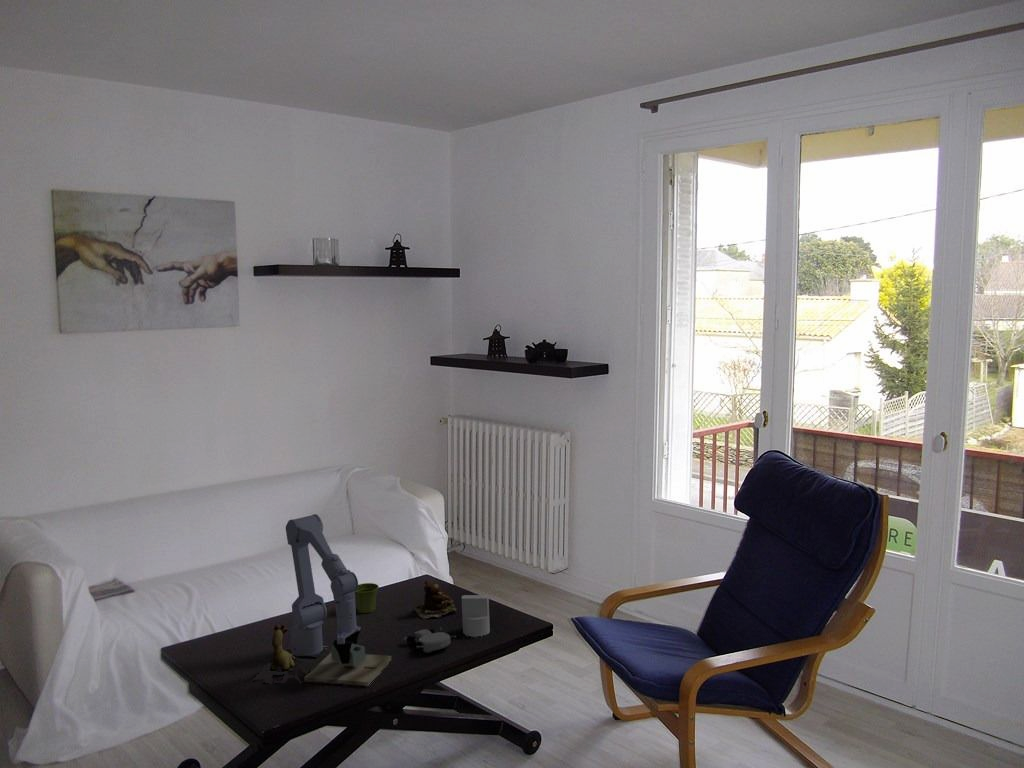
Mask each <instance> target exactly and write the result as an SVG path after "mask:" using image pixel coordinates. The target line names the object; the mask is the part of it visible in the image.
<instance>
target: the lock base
mask: <svg viewBox="0 0 1024 768" xmlns="http://www.w3.org/2000/svg"><path fill="white" fill-rule="evenodd" d="M390 661H391V662H392V655H384V654H383V655H381V654H369V653H368V654H367V653H365V660H364V661H362V662H360V663H358V664H356V665H354V666H352V665H349V664H342V663H341V662H338V661H335V660H332V654H331V652H329V654H327V655H326V657H324V658H323V659H322V660H321V661H320V662H319V663H317V664H318V665H317V664H316V665H317V666H316V667H315V668H314V669H313V670H312V669H311V672H310V673H308V674H307V675H304V681H305V680H313V681H324V682H334V683H345V684H353V685H364V686H369V684H370V683H371V682H372V681H373V680H374V679H375V678H376V677H377V676H378V677H379V675H380V674H382V672H383V671H384V670H385V669H386V667H387V666H388V665H389V664H390V663H391V662H390ZM389 662H390V663H389ZM384 668H385V669H384ZM383 669H384V670H383ZM382 670H383V671H382ZM381 671H382V672H381ZM378 677H377V678H378ZM377 678H376V679H377ZM376 679H375V680H376ZM375 680H374V681H375ZM374 681H373V682H374ZM373 682H372V683H373ZM372 683H371V684H372ZM371 684H370V685H371ZM369 687H370V686H369Z"/></svg>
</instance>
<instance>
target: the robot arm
mask: <svg viewBox="0 0 1024 768" xmlns="http://www.w3.org/2000/svg"><path fill="white" fill-rule="evenodd" d="M285 533H286V540H287V545H289V546H290V547H291V553H292V558H293V566H294V572H295V579H296V587H297V592H298V593H297V594H298V596H297V598H296V599H295V600H294V601H293V603H291V620H292V624H293V626H292V628H291V630H290V637H289V638H290V652H292V653H300V654H304V655H313V654H317V653H319V652H321V651H322V650H323V647H328V648H329V646H327V645H323V644H324V643H323V628H322V627H323V625H324V621H325V620H326V619H327V614H328V611H327V607H326V604H325V602H324V597H323V596H321V595H319V594H316V589H315V582H314V577H313V570H312V569H313V568H312V564H311V563H312V562H311V557H310V551H309V544H310V545H311V546H312V548H313V549H314V551H315V552H316V553H317V554H318V556H319V557H320V559H321V560H322V561H321V567H322V569H323V570H324V571H323V572H324V573H325V574H326V576H327V578H328V579H329V581H330V586H329V587H330V590H331V592H332V596H333V597H332V598H333V601H335V615H336V627H337V628H336V634H337V635H336V636H337V638H336V639H334V640H333V642H332V643H333V645H332V646H334V647H335V648H336V650H337V652H338V654H339V657H340V660H341V663H342V664H348V663H349V660H350V650H351V646H352V643H353V644H356V645H358V639H359V636H360V632H361V630H362V628H361V626H358V625H357V624H358V623H357V615H356V614H357V613H356V608H357V607H356V597H355V592H354V591H356V590H357V588H358V585H359V580H358V577H357V576H356V573H354V571H351V570H350V569H347V568H346V566H345V564H344V563H343V560H342V559H341V557H340V556H339V554H338V553H333V552H332V549H331V547H330V545H329V543H328V541H327V539H326V537H325V535H324V523H323V521H322V519H321V517H320V515H318V514H316V513H314V514H311V515H307V516H303V517H299V518H294V519H289V520H288V521H287V523H286V525H285ZM295 649H296V650H295ZM325 649H326V648H325ZM326 650H327V649H326ZM319 654H320V653H319Z"/></svg>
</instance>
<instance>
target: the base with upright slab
mask: <svg viewBox="0 0 1024 768" xmlns="http://www.w3.org/2000/svg"><path fill="white" fill-rule="evenodd" d="M489 597H490V596H489V595H488V594H487V595H486V594H485V595H483V594H482V595H481V594H479V595H477V594H473V595H471V594H466V595H465V594H464V595H462V596H461V614H462V619H461V620H462V633H464V634H465V636H467V637H469V636H471V637H470V638H479V637H478V636H481V637H483V635H485V636H487V635H488V634H489V633H491V630H490V628H491V626H490V602H489V601H490V600H489V599H490V598H489ZM464 634H463V635H464ZM486 634H487V635H486Z"/></svg>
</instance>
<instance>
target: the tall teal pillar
mask: <svg viewBox="0 0 1024 768" xmlns="http://www.w3.org/2000/svg"><path fill="white" fill-rule="evenodd" d="M330 650H331V652H330V653H331V654H332V660H335V661H338V662H341V660H340V657H339V654H338V652H337V650H336V648H335V647H334V645H332V646H331V649H330ZM365 654H366V648H365V646H363V645H360V644H357V645H356V644H353V643H352V646H351V650H350V660H349V663H348V664H349V665H352V666H354V665H356V664H358V663H360V662H362V661H364V660H365Z"/></svg>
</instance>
